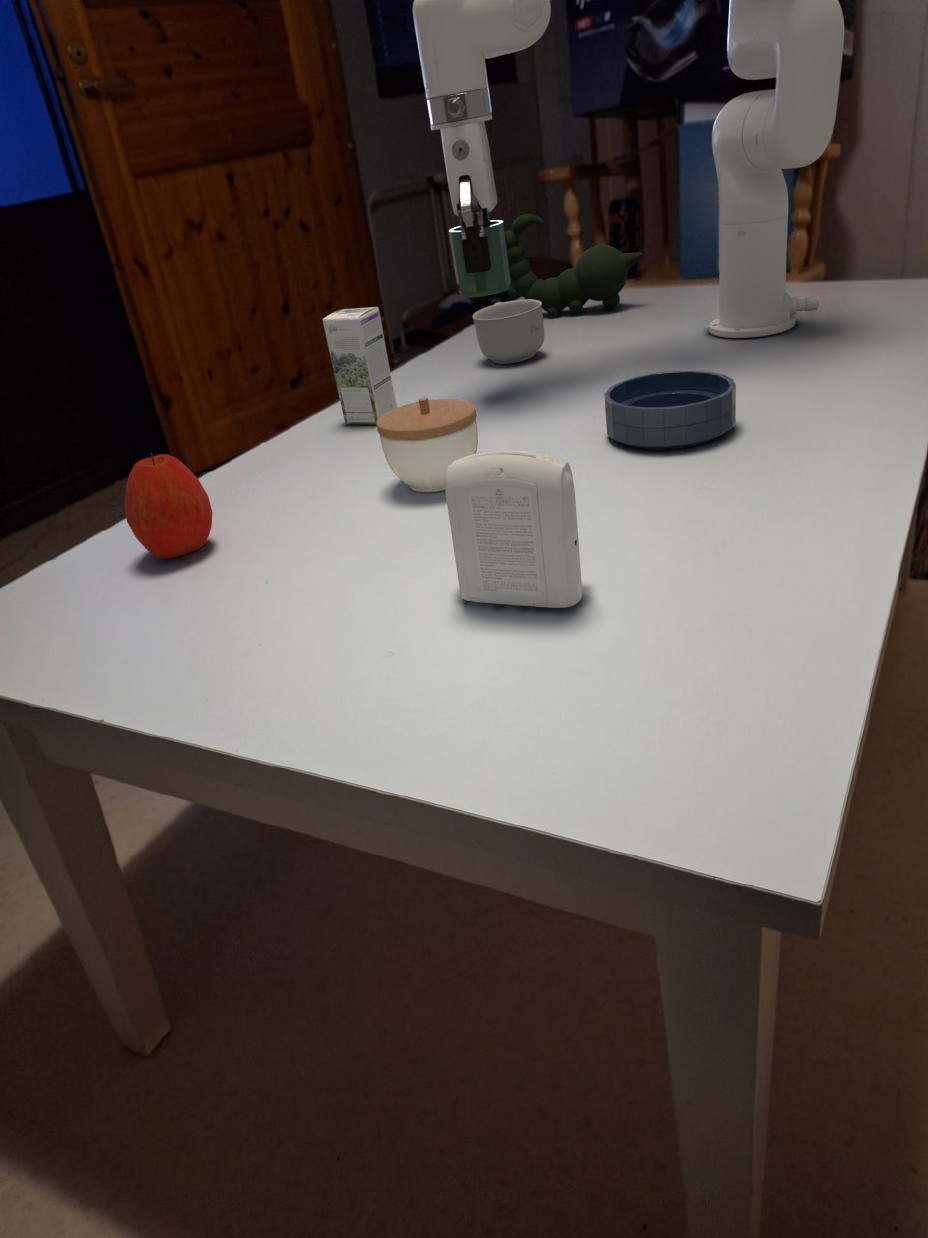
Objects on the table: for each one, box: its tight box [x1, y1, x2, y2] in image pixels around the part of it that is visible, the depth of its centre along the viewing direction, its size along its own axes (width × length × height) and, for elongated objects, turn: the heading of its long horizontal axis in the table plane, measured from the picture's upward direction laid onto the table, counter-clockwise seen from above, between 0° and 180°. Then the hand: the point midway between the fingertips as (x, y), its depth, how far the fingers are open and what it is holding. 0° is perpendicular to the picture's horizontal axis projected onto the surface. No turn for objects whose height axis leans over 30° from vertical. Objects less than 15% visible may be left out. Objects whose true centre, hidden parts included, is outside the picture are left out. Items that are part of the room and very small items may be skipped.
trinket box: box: [375, 397, 479, 494], centre depth 97 cm, size 11×11×9 cm
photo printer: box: [444, 449, 583, 609], centre depth 70 cm, size 10×4×12 cm, turn 69°
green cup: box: [448, 219, 513, 298], centre depth 116 cm, size 7×7×8 cm
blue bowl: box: [603, 369, 737, 450], centre depth 101 cm, size 14×14×5 cm
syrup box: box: [322, 306, 398, 425], centre depth 121 cm, size 6×6×14 cm
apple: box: [123, 452, 213, 560], centre depth 90 cm, size 8×8×11 cm
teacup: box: [472, 298, 545, 365], centre depth 142 cm, size 14×11×8 cm
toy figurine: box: [505, 213, 644, 318], centre depth 162 cm, size 9×19×25 cm
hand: (481, 264), depth 117 cm, fingers closed on green cup, 7 cm apart
